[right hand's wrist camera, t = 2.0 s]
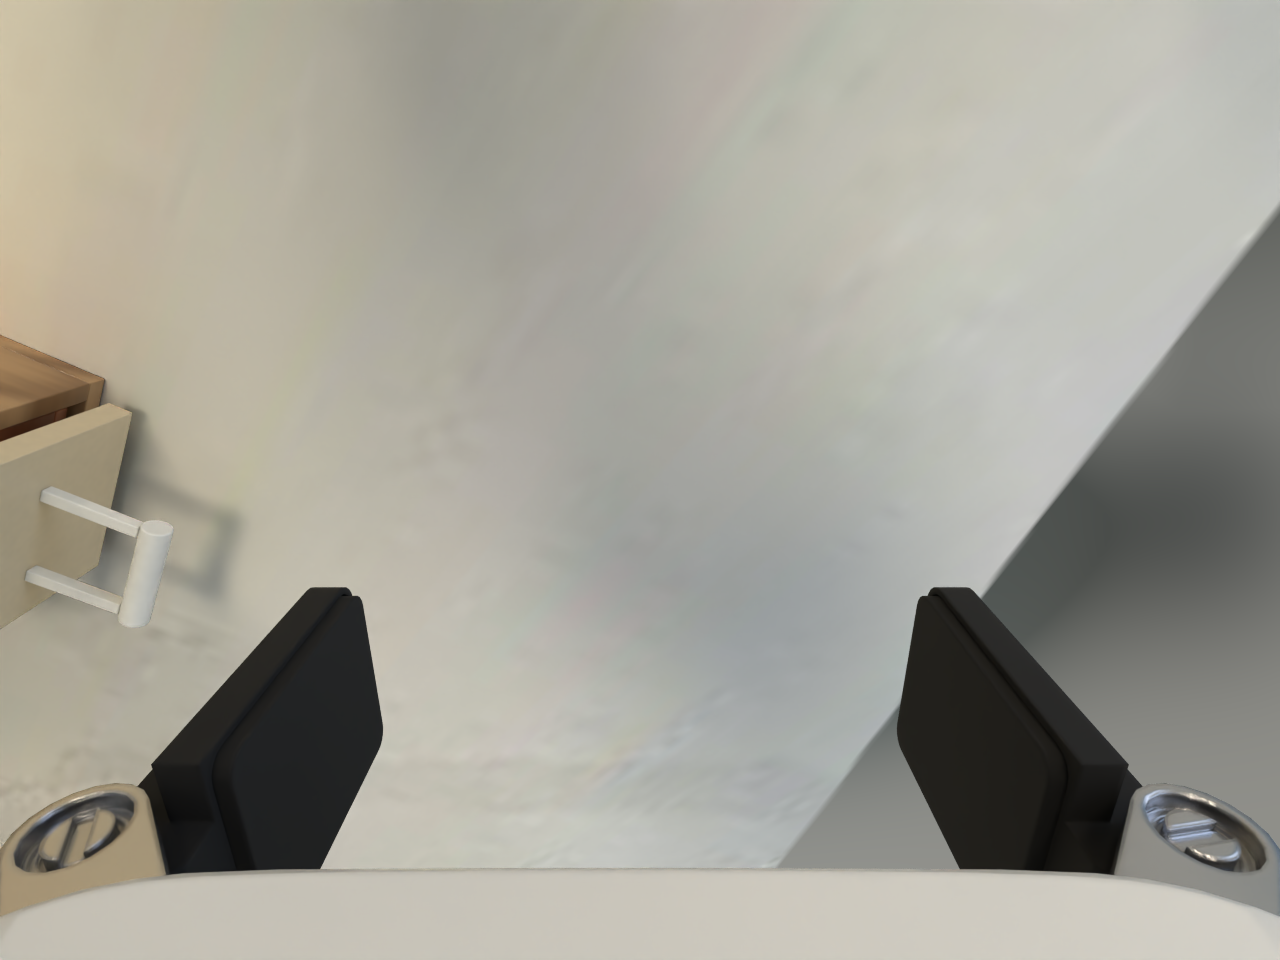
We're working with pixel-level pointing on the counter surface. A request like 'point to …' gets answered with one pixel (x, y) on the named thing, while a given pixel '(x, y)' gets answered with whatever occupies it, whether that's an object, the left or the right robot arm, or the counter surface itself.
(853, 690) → the counter surface
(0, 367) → the cabinet
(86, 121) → the counter surface
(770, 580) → the counter surface
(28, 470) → the drawer
